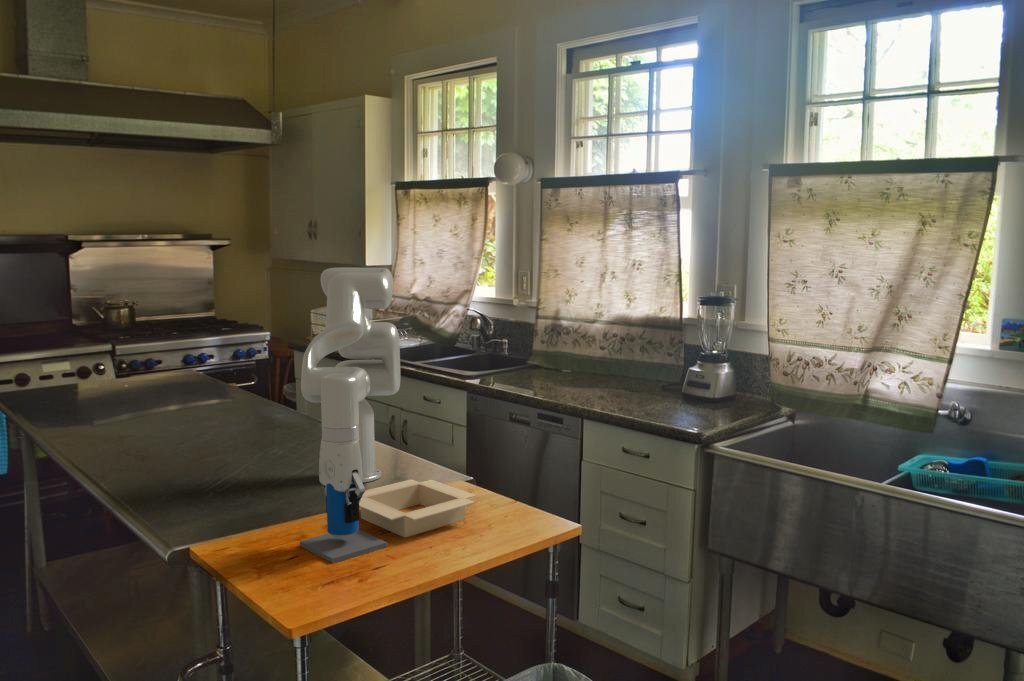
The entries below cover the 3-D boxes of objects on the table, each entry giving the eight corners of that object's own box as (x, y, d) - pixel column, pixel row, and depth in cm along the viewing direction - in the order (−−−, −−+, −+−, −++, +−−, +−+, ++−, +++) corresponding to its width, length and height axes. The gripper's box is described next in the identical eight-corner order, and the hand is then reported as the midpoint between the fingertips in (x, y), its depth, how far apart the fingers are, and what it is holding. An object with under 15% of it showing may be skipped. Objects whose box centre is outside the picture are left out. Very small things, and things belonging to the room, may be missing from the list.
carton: (339, 517, 198) (339, 496, 197) (422, 495, 214) (422, 476, 214) (400, 545, 181) (400, 523, 180) (486, 519, 197) (486, 498, 196)
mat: (299, 545, 181) (299, 541, 181) (352, 531, 190) (352, 526, 189) (332, 563, 171) (332, 558, 171) (387, 547, 180) (386, 542, 180)
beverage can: (360, 527, 184) (359, 473, 182) (356, 539, 177) (355, 482, 176) (330, 528, 183) (328, 473, 182) (324, 539, 177) (323, 482, 175)
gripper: (303, 429, 181) (305, 511, 184) (347, 444, 169) (350, 532, 171) (334, 423, 186) (336, 503, 189) (379, 438, 174) (381, 523, 176)
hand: (342, 516), depth 180 cm, fingers closed on beverage can, 6 cm apart
